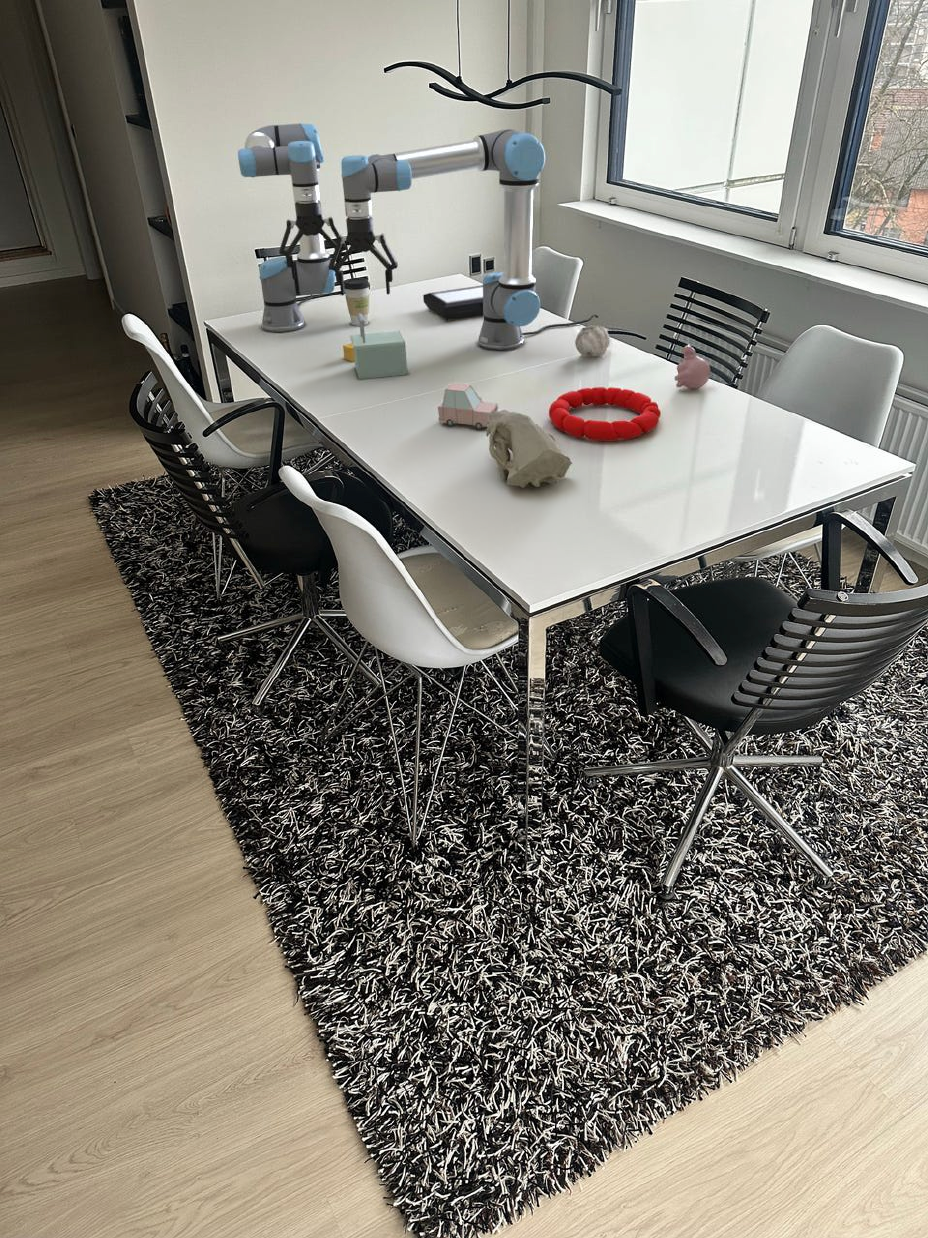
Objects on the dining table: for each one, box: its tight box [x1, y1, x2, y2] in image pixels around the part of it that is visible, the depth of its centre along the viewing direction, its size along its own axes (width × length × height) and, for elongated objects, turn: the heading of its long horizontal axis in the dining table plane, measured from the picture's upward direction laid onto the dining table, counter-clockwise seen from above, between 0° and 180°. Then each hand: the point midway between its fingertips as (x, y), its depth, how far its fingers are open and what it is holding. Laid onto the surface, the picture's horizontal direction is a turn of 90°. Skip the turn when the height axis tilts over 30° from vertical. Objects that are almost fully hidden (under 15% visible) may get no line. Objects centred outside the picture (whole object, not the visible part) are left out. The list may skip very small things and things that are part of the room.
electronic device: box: [422, 284, 483, 322], centre depth 335 cm, size 32×6×20 cm
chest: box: [353, 344, 408, 380], centre depth 281 cm, size 15×12×9 cm
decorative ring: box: [548, 386, 661, 442], centre depth 242 cm, size 7×30×30 cm
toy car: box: [437, 382, 499, 431], centre depth 243 cm, size 9×15×10 cm, turn 70°
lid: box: [349, 313, 406, 349], centre depth 276 cm, size 16×12×8 cm
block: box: [342, 342, 355, 363], centre depth 293 cm, size 4×4×4 cm
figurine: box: [674, 344, 711, 390], centre depth 259 cm, size 9×11×12 cm
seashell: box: [574, 324, 611, 358], centre depth 286 cm, size 10×15×10 cm
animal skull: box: [485, 409, 573, 489], centre depth 216 cm, size 17×25×20 cm
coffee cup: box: [344, 277, 371, 327], centre depth 323 cm, size 10×10×15 cm
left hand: (316, 276), depth 273 cm, fingers open, 13 cm apart
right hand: (365, 293), depth 266 cm, fingers open, 13 cm apart
